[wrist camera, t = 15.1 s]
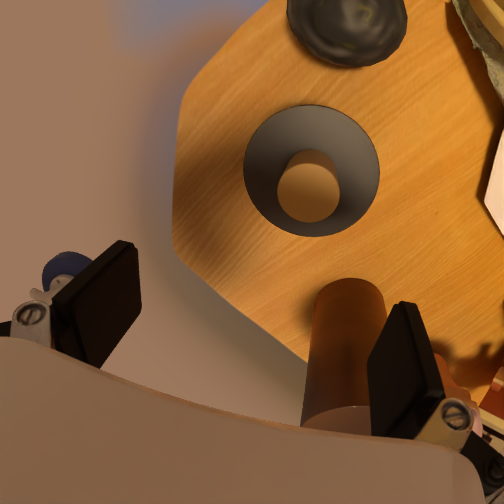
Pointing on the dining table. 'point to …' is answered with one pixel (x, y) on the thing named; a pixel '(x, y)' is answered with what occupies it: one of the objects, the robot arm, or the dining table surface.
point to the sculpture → (491, 16)
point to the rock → (483, 44)
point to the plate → (497, 187)
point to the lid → (311, 170)
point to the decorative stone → (349, 29)
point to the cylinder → (342, 356)
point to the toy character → (494, 413)
